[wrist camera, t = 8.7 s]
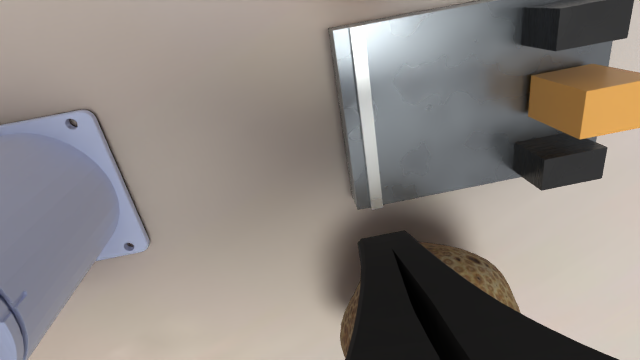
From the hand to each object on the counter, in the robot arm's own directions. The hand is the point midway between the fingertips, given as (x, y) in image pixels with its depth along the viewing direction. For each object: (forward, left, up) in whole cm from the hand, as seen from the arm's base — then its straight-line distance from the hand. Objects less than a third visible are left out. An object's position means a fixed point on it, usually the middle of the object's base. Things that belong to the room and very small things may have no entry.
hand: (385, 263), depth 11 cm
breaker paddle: (+11, +1, -9) cm, 14 cm away
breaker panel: (+7, +1, -10) cm, 13 cm away
